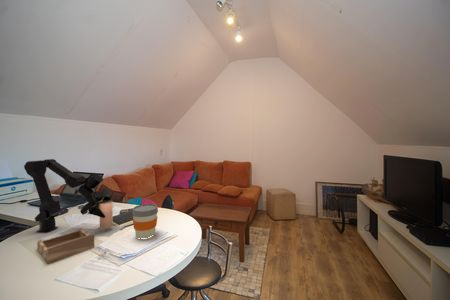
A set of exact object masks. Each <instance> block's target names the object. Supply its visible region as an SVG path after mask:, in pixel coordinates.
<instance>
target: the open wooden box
mask: <svg viewBox="0 0 450 300" xmlns="http://www.w3.org/2000/svg"><path fill="white" fill-rule="evenodd" d="M36 243H37V251H38V252H39V253H40V255H41V257H42V258H43V259H44V260H45V262H46V263H47V265H50V264H52V263H55V262H58V261H60V260H64V259H66V258H69V257H71V256H74V255H77V254H81V253H83V252H85V251H88V250H91V249H93V248H95V236H94V234H90V235H89V233H87V232H86V231H85V230H83V229H82V228H78V230H75V231H71V232H68V233H65V234H62V235H59V236H55V237H51V238H48V239H44V240H41V239H39V240H37V242H36Z"/></svg>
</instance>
